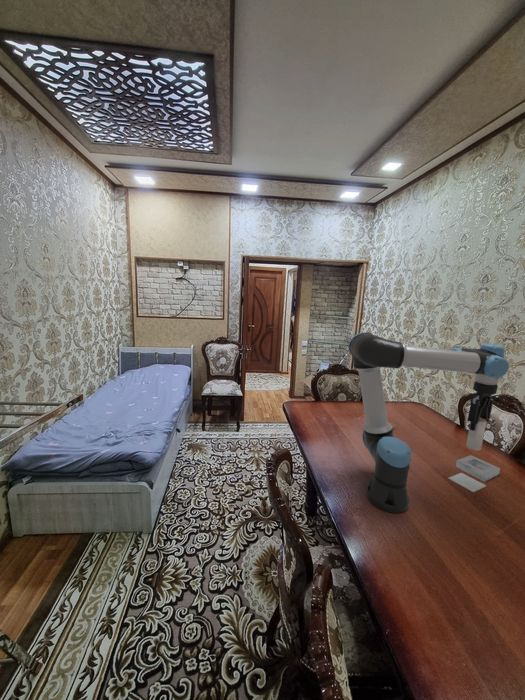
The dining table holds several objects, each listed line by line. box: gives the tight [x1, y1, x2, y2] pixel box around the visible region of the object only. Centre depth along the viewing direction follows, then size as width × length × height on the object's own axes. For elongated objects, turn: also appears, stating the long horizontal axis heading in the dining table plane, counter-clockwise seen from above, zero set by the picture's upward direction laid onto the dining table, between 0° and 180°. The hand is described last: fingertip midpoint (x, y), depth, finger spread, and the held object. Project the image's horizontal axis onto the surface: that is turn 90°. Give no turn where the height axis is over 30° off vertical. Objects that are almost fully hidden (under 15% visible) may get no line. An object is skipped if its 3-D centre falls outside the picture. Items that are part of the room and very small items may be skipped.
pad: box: [447, 472, 487, 493], centre depth 122 cm, size 10×10×1 cm
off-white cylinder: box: [465, 417, 488, 451], centre depth 118 cm, size 5×5×13 cm
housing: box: [455, 454, 501, 482], centre depth 131 cm, size 12×12×4 cm
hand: (475, 435), depth 118 cm, fingers closed on off-white cylinder, 5 cm apart
